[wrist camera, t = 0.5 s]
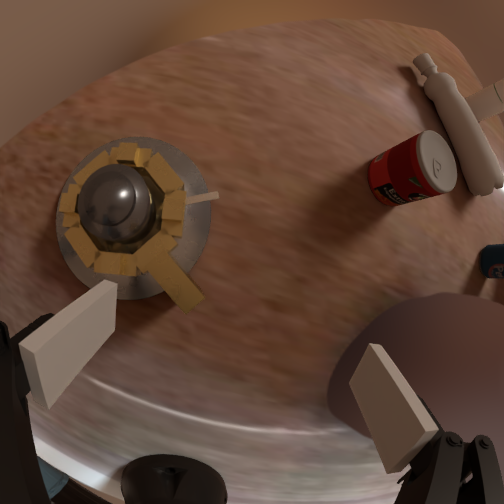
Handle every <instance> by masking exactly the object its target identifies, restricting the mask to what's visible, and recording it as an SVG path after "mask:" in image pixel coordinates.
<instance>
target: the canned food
mask: <svg viewBox="0 0 504 504" xmlns="http://www.w3.org/2000/svg"><path fill="white" fill-rule="evenodd" d="M456 180H457V169H456V163H455V159H454V156H453V154H452V152H451V149H450V148H449V146H448V144H447V143H446V141H445V140H444V139H443V138H442V137H441V136H440V135H439V134H438V133H436V132H435V131H432V130H427V131H423V132H421V133H420V134H417V135H415V136H413V137H411V138H410V139H408V140H406V141H404V142H402V143H400V144H398V145H396V146H394V147H393V148H391V149H389V150H387V151H385V152H383V153H381V154H380V155H378V156H376V157H375V158H374V159H373V161H372V162H371V164H370V166H369V169H368V181H369V185H370V188H371V190H372V192H373V194H374V195H375V197H376V198H377V199H378V200H379V201H380V202H382V203H383V204H385V205H389V206H398V205H402V204H406V203H410V202H414V201H418V200H422V199H425V198H429V197H433V196H437V195H440V194H444V193H447V192H449V191H451V190H452V189H453V188H454V186H455V184H456Z"/></svg>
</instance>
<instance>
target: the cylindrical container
mask: <svg viewBox="0 0 504 504" xmlns="http://www.w3.org/2000/svg"><path fill="white" fill-rule="evenodd" d="M466 102H467V103H468V105H469V107H470V108H471V110H472V112H473V114H474V115H475V117H476V119H477V121H478V122H480V121H483V120H485V119H487V118H490V117H492V116H494V115H497V114H499V113H501V112H504V79H502V80H500V81H498V82H496V83H494V84H492V85H490V86H488V87H486V88H484V89H482V90H480V91H478V92H476V93H475V94H473V95H471V96H469V97H467V98H466Z"/></svg>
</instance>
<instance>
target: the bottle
mask: <svg viewBox="0 0 504 504" xmlns="http://www.w3.org/2000/svg"><path fill="white" fill-rule="evenodd" d="M413 64H414V65H415V66H416V67H417V68H418V70H419V71H420V72H421V75H424V76H426V77H427V80H426V81H425V83H424V91H425V94H426V95H427V96H428V98H429V99H431V100H432V101H433V102H434V104H435V107H436V110H437V112H438V115H439V117H440V119H441V121H442V123H443V125H444V127H445V129H446V131H447V133H448V136H449V138H450V140H451V142H452V145H453V147H454V149H455V152H456V154H457V157H458V159H459V162H460V166H461V170H462V173H463V175H464V178H465V180H466V183H467V185H468V188H469V191H470V192H471V193H472V194H473V195H475V196H477V195H481V196H486V195H489V194H491V193H492V192H493V189H494V187H495V188H496V189H499V188H502V187H503V184H504V176H503V173H502V170H501V168H500V165H499V162H498V159H497V157H496V155H495V153H494V152H493V150H492V148H491V146H490V144H489V142H488V140H487V138H486V136H485V134H484V132H483V130H482V128H481V126H480V124H479V123H478V121H477V119H476V117H475V115H474V114H473V112H472V110H471V108H470V107H469V105H468V103H467V102H466V100H465V99H464V98H463V96H462V95H461V94H460V93H459V91H458V90H457V85H456V83H455V80H454V78H452V77H451V76H450V75H448V74H447V73H438V72H437V66H436V65H435V64H434V62H433V60H432V59H431V57H430V56H429V54H428V53H424V54H421V55H419V56H417V57H416V58H415V59H414V60H413Z"/></svg>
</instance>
